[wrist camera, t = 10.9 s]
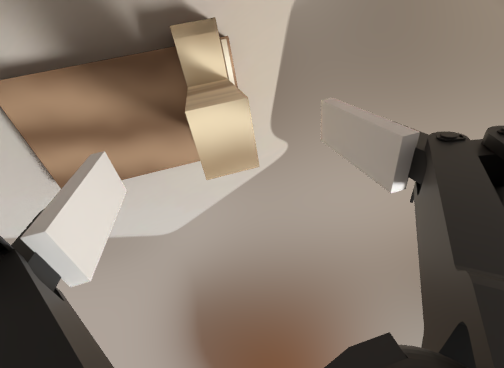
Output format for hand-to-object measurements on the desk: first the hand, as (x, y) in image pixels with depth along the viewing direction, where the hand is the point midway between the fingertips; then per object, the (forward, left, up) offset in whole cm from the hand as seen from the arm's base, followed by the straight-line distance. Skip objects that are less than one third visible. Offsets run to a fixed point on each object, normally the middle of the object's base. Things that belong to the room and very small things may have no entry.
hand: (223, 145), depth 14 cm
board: (0, -8, -15) cm, 17 cm away
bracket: (-1, 0, -15) cm, 15 cm away
